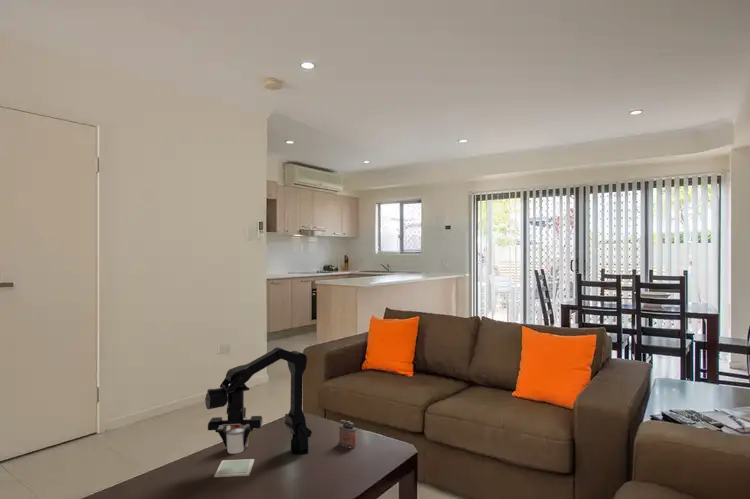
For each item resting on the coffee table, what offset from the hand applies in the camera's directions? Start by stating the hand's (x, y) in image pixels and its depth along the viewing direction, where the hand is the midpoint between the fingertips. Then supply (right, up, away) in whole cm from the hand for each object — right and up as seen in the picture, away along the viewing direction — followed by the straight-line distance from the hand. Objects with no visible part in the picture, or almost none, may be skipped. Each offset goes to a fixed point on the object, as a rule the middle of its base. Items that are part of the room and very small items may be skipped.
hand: (235, 446), depth 168 cm
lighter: (+40, -9, +21) cm, 46 cm away
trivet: (0, -8, 0) cm, 8 cm away
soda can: (-4, -9, +18) cm, 20 cm away
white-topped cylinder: (0, -2, 0) cm, 2 cm away
